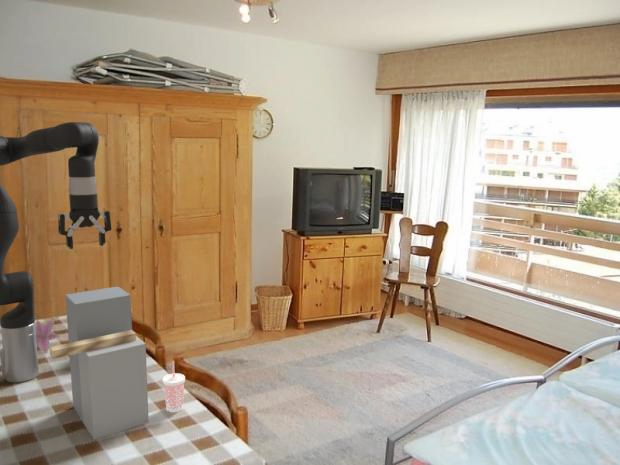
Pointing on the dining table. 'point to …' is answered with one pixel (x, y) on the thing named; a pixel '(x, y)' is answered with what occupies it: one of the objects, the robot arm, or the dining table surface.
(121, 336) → the maple bar
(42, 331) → the lily
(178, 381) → the beverage cup
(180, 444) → the dining table surface
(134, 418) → the stepped stand
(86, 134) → the robot arm
